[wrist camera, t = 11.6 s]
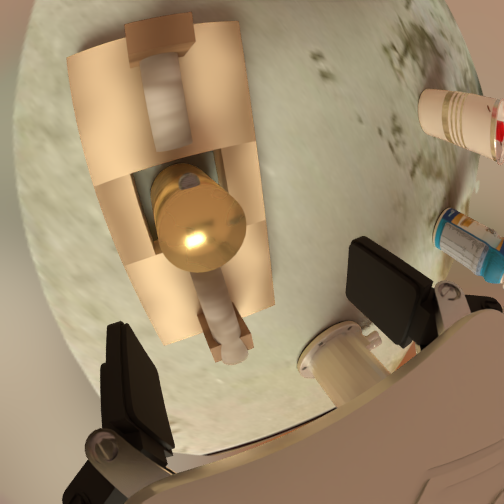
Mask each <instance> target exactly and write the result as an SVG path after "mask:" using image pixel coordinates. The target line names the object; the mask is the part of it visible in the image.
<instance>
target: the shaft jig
mask: <svg viewBox="0 0 504 504" xmlns="http://www.w3.org/2000/svg"><path fill="white" fill-rule="evenodd" d="M124 26H125V35H126V37H125V38H121V39H118V40H114V41H111V42H108V43H104V44H101V45H98V46H95V47H93V48H90V49H87V50H84V51H82V52H79V53H77V54H74V55H72V56H69V57H67V67H68V75H69V82H70V89H71V95H72V101H73V106H74V111H75V116H76V121H77V126H78V130H79V134H80V139H81V143H82V147H83V150H84V154H85V158H86V162H87V165H88V169H89V172H90V175H91V179H92V182H93V185H94V188H95V191H96V195H97V198H98V200H99V203H100V206H101V209H102V212H103V215H104V218H105V220H106V223H107V226H108V228H109V231H110V234H111V236H112V239H113V241H114V244H115V246H116V248H117V251H118V253H119V256H120V258H121V260H122V263H123V265H124V267H125V270H126V272H127V274H128V276H129V278H130V281H131V283H132V285H133V287H134V289H135V291H136V293H137V295H138V297H139V299H140V301H141V303H142V305H143V307H144V309H145V311H146V313H147V315H148V317H149V319H150V321H151V323H152V325H153V327H154V328H155V330H156V332H157V334H158V336H159V338H160V339H161V341H162V343H163V345H164V346H165V345H168V344H171V343H174V342H177V341H180V340H182V339H185V338H188V337H191V336H194V335H197V334H200V333H204V335H205V338H206V341H207V343H208V346H209V348H210V351H211V353H212V355H213V358H214V360H215V362H218V361H221V360H222V362H223V363H224V364H227V365H234V364H238V363H241V362H242V361H244V360H245V359H246V358H247V357H248V351H247V350H249V349H252V348H254V346H253V341H252V336H251V333H250V331H249V329H248V328H247V326H246V324H245V322H244V321H243V319H242V318H243V317H246V316H248V315H251V314H253V313H256V312H258V311H261V310H263V309H266V308H268V307H271V306H273V305H275V300H274V290H273V281H272V271H271V262H270V253H269V244H268V236H267V227H266V218H265V210H264V202H263V193H262V185H261V177H260V169H259V161H258V154H257V146H256V138H255V131H254V124H253V116H252V109H251V102H250V95H249V88H248V81H247V74H246V67H245V60H244V54H243V47H242V41H241V34H240V28H239V22H238V21H224V22H209V23H199V24H193V18H192V12H187V13H179V14H172V15H166V16H160V17H155V18H150V19H145V20H141V21H136V22H132V23H128V24H124ZM212 150H213V153H214V159H215V164H216V170H217V175H218V181H219V186H221V187H222V188H223V189H224V190H225V191H226V192H227V193H229V194H230V195H231V196H232V197H233V198H234V199H235V200H236V201H237V202H238V203H239V204H240V206H241V207H242V209H243V211H244V214H245V217H246V225H247V226H246V235H245V238H244V241H243V244H242V246H241V247H240V249H239V251H238V252H237V253H236V255H235V256H234V257H233V258H232V259H231V260H230V261H228V262H227V263H226V264H224V265H223V266H221V267H219V268H217V269H214V270H211V271H207V272H199V273H196V272H188V271H184V270H181V269H179V268H177V267H176V266H174V265H173V264H172V263H170V262H169V261H168V260H167V258H166V257H165V256H164V254H163V252H162V250H161V248H160V244H159V240H156V241H153V239H152V236H151V233H150V230H149V227H148V224H147V221H146V218H145V215H144V211H143V208H142V205H141V202H140V198H139V195H138V192H137V188H136V185H135V181H134V178H133V174H132V173H134V172H137V171H140V170H143V169H146V168H149V167H153V166H156V165H159V164H163V163H166V162H169V161H173V160H177V159H180V158H184V157H188V156H191V155H195V154H199V153H203V152H207V151H212Z"/></svg>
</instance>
